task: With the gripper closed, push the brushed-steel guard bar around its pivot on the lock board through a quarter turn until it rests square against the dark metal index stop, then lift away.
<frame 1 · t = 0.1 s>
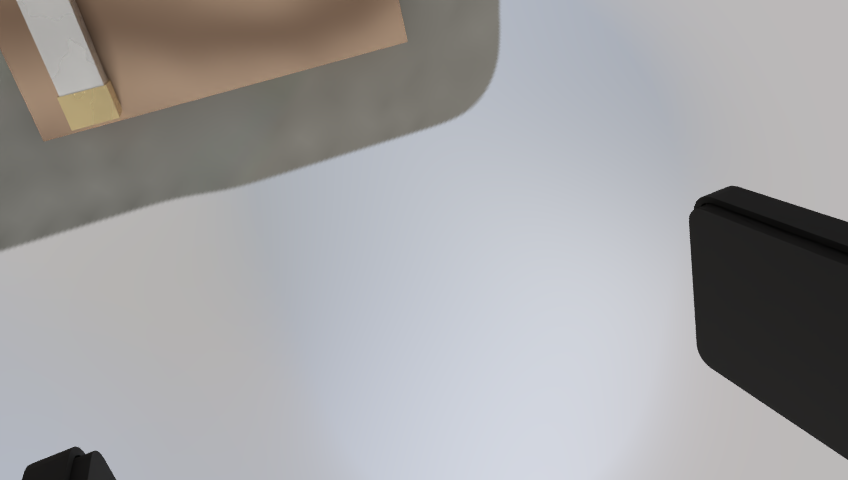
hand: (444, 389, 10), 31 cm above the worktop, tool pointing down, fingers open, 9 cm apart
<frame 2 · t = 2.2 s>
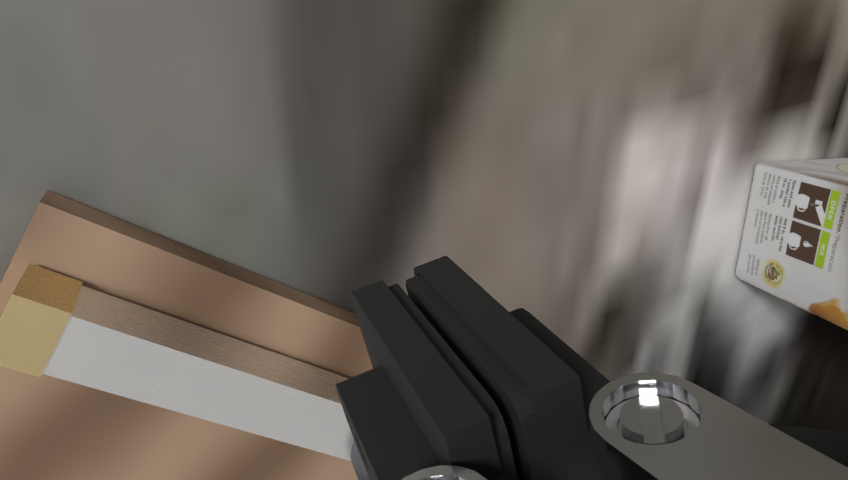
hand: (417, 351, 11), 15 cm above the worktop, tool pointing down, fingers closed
coffee box: (806, 214, 34), on the worktop
guard bar: (242, 388, 23), point 3 cm above the worktop, hinge at 0.0°
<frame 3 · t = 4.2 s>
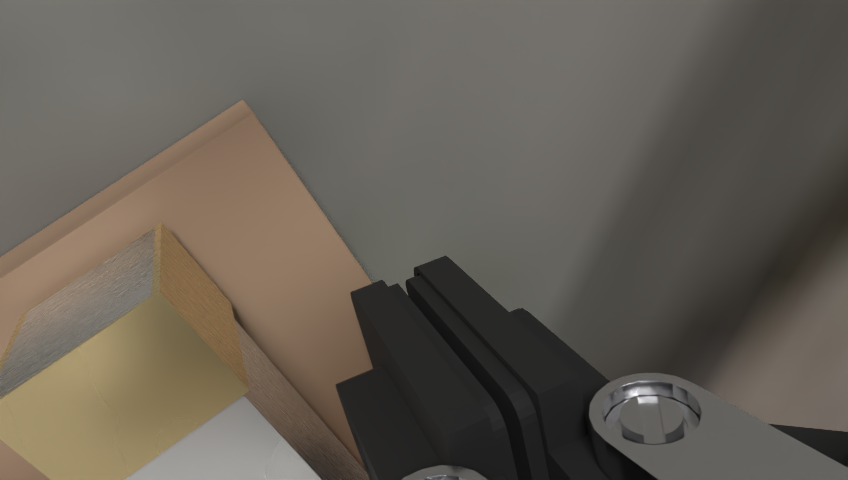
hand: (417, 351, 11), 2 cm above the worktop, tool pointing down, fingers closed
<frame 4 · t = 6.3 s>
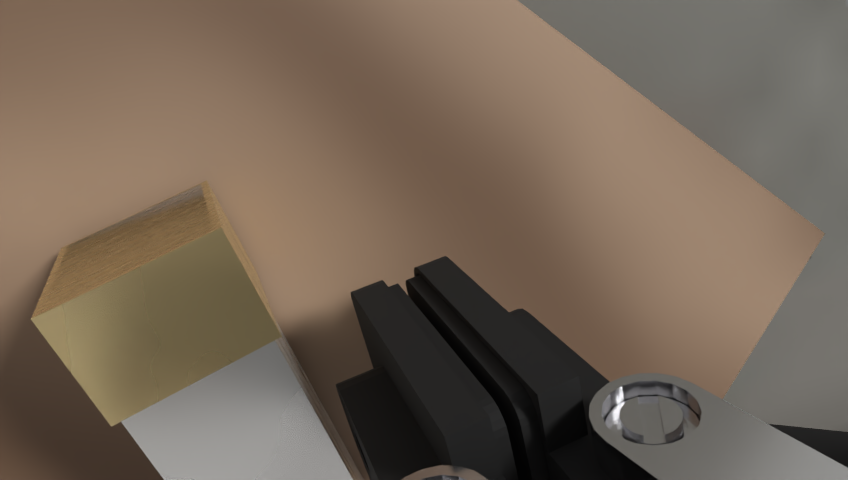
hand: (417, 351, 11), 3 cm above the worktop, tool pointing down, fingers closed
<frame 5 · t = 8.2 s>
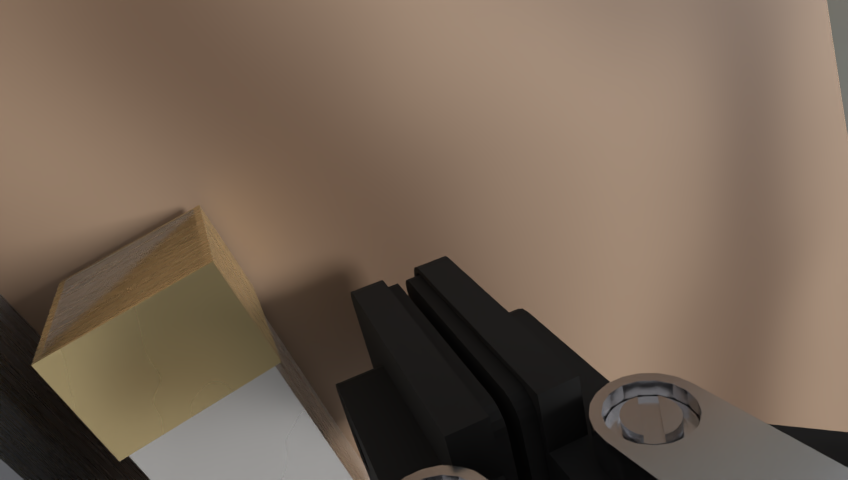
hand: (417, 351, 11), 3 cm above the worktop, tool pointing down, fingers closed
index stop: (16, 348, 11), resting on lock board
lock board: (421, 388, 14), on the worktop
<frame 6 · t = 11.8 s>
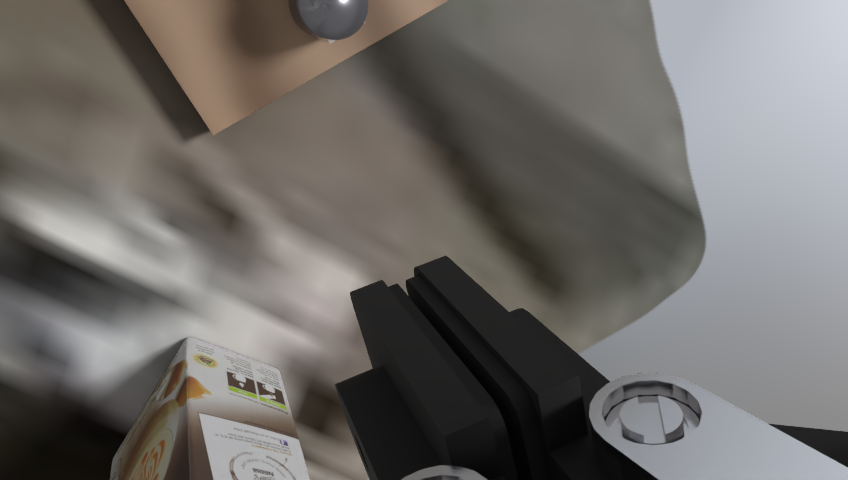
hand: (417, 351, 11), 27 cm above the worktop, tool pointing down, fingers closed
coffee box: (197, 412, 40), on the worktop
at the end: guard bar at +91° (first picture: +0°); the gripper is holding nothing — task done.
